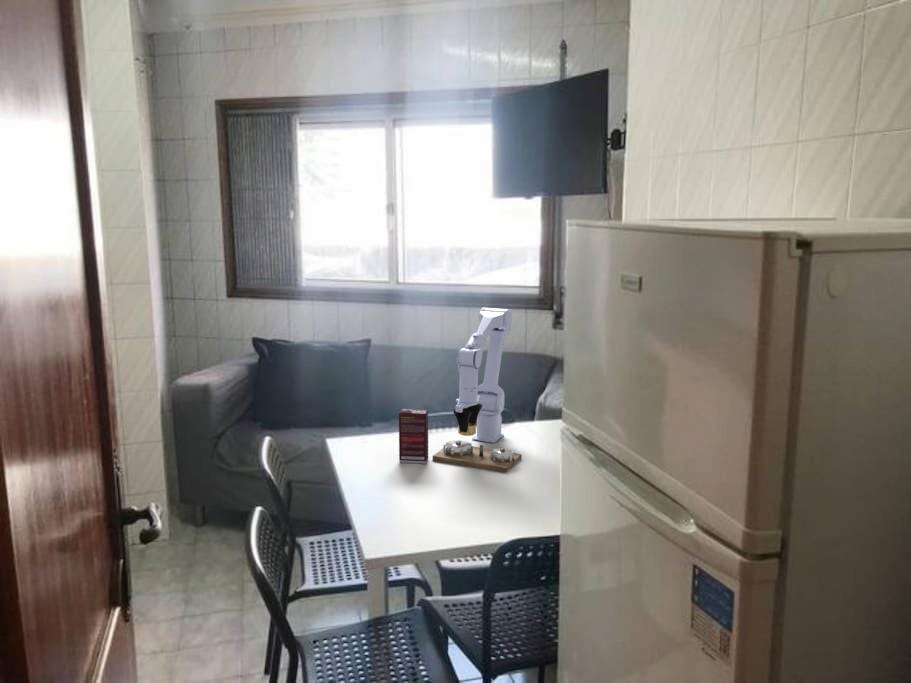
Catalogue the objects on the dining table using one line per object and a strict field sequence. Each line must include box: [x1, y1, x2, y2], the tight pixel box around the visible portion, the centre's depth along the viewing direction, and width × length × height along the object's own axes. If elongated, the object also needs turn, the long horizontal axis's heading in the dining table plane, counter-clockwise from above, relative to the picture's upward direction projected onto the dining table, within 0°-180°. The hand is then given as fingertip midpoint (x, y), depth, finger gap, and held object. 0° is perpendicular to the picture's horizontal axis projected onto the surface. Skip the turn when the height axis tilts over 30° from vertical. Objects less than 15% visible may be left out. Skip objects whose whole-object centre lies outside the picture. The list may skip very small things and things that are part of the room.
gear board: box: [432, 439, 522, 474], centre depth 233 cm, size 14×24×5 cm, turn 66°
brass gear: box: [457, 422, 477, 437], centre depth 236 cm, size 6×6×3 cm
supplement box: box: [398, 408, 429, 465], centre depth 230 cm, size 9×5×16 cm, turn 84°
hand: (467, 429), depth 236 cm, fingers closed on brass gear, 6 cm apart
